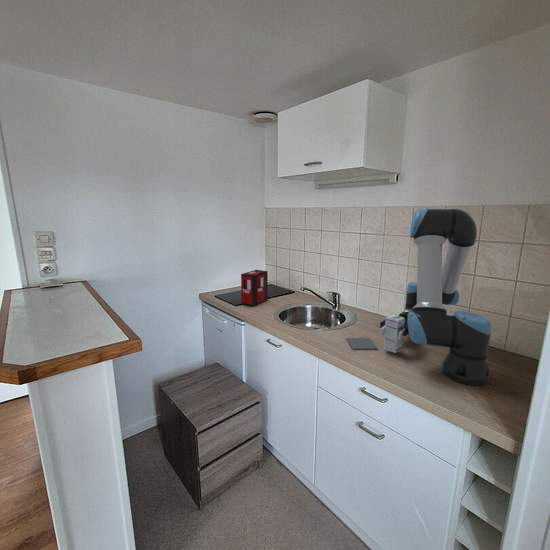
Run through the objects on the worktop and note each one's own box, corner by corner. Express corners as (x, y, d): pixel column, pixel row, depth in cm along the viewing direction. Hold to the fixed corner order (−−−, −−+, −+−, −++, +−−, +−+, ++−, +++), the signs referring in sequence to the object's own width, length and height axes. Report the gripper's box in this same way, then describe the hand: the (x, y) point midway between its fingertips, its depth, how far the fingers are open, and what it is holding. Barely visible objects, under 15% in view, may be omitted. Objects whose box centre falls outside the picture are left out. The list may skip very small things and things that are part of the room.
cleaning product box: (256, 298, 208) (256, 269, 204) (267, 300, 204) (267, 271, 200) (241, 304, 195) (241, 274, 190) (253, 307, 190) (252, 275, 186)
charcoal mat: (377, 349, 134) (377, 348, 133) (352, 350, 133) (352, 348, 133) (369, 339, 144) (369, 337, 144) (346, 339, 144) (346, 337, 144)
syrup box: (395, 353, 127) (398, 320, 124) (382, 348, 131) (385, 316, 128) (402, 349, 131) (405, 317, 127) (389, 345, 135) (392, 313, 132)
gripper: (428, 331, 138) (414, 349, 120) (385, 322, 150) (366, 336, 132) (430, 316, 136) (416, 331, 119) (386, 307, 148) (367, 320, 131)
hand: (390, 334), depth 125 cm, fingers closed on syrup box, 7 cm apart
